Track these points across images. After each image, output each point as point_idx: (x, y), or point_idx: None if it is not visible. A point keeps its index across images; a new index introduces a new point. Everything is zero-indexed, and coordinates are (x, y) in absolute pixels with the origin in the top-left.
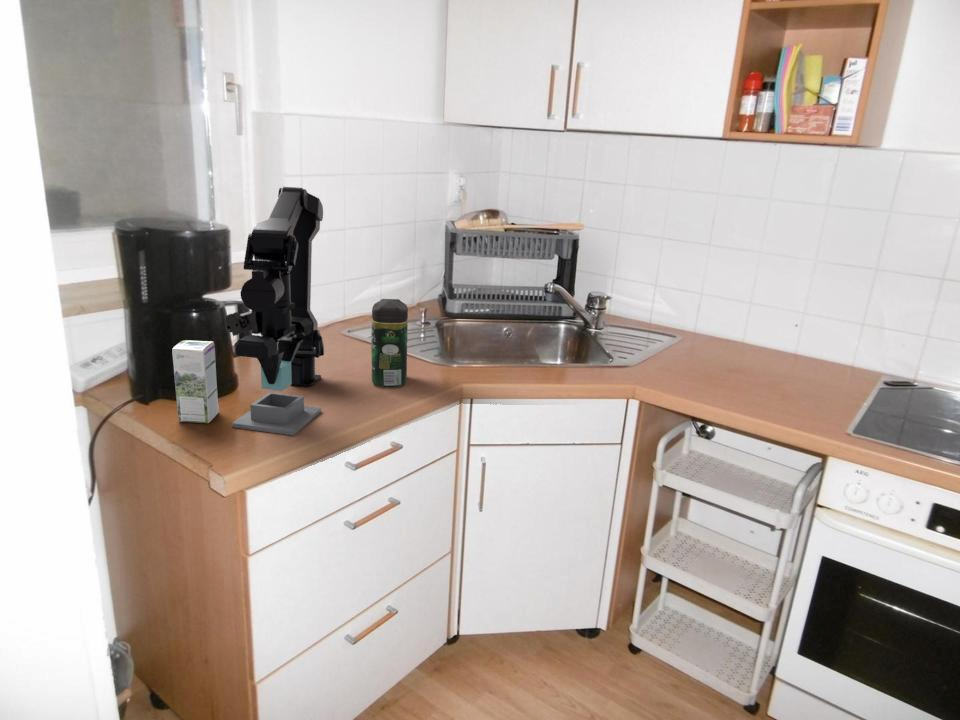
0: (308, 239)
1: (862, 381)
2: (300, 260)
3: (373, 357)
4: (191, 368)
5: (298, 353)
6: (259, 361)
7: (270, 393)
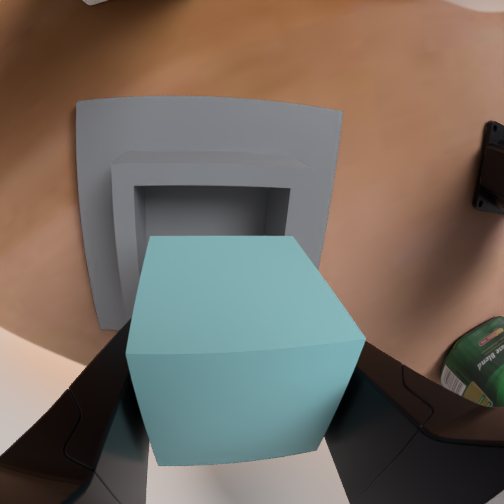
0: None
1: None
2: None
3: (499, 378)
4: None
5: None
6: (17, 445)
7: (292, 184)
